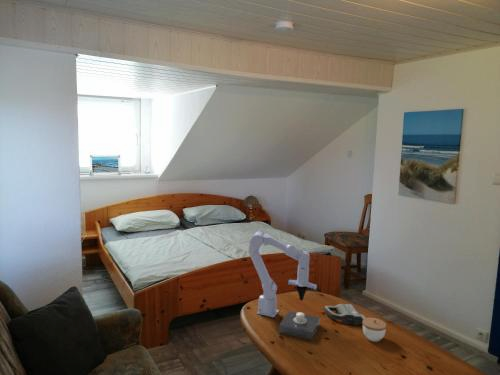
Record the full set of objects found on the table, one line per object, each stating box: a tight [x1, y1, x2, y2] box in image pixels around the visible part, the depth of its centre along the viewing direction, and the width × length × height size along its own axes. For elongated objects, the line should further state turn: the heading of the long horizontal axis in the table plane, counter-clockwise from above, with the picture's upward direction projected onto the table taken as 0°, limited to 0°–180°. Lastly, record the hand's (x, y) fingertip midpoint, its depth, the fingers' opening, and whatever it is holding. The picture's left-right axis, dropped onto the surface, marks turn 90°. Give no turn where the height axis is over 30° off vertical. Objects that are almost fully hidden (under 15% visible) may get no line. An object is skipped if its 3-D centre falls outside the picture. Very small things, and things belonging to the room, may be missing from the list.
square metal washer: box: [278, 310, 320, 341], centre depth 185 cm, size 16×16×4 cm
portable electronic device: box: [323, 303, 367, 326], centre depth 197 cm, size 16×20×5 cm
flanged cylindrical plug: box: [293, 312, 307, 325], centre depth 185 cm, size 7×7×6 cm
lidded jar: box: [362, 317, 387, 343], centre depth 179 cm, size 11×11×9 cm
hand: (301, 299), depth 197 cm, fingers closed
